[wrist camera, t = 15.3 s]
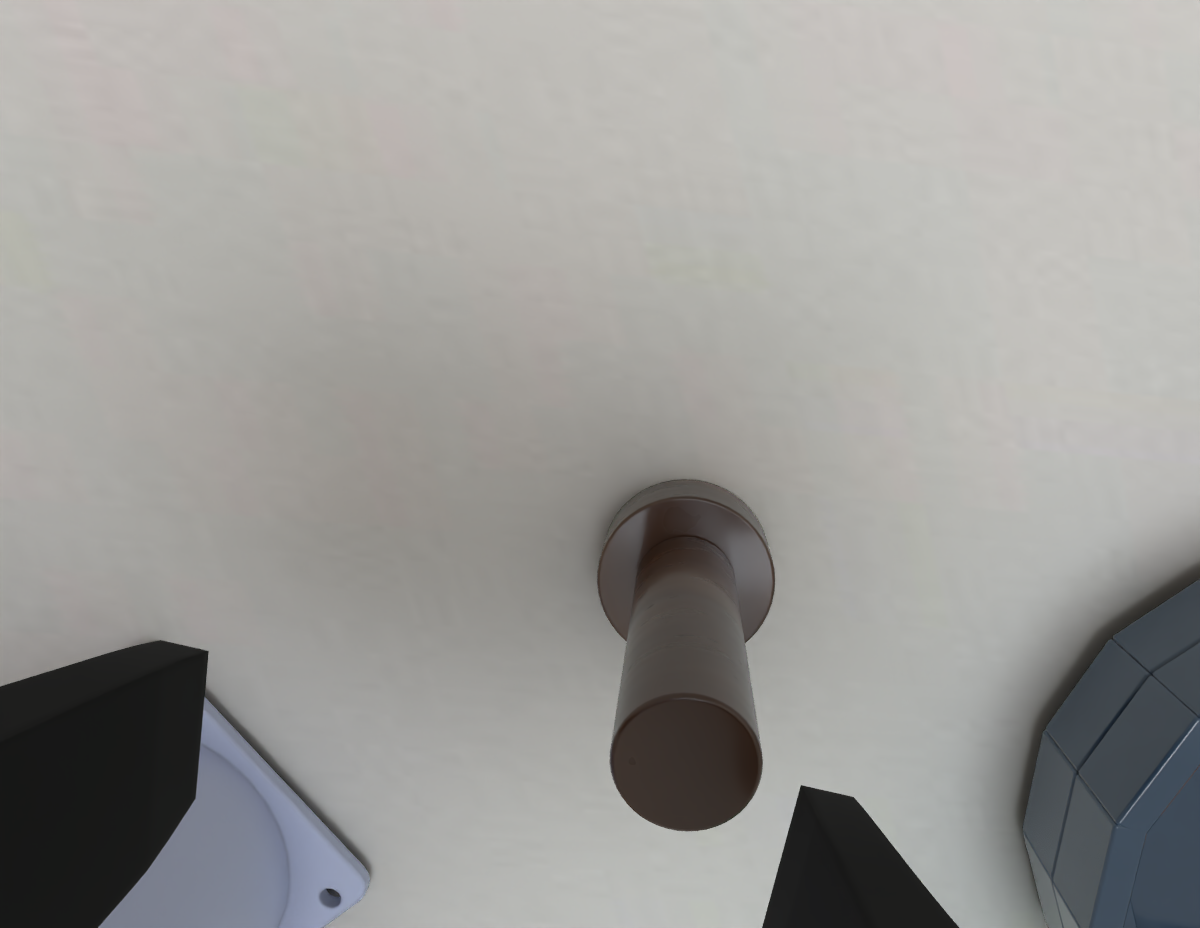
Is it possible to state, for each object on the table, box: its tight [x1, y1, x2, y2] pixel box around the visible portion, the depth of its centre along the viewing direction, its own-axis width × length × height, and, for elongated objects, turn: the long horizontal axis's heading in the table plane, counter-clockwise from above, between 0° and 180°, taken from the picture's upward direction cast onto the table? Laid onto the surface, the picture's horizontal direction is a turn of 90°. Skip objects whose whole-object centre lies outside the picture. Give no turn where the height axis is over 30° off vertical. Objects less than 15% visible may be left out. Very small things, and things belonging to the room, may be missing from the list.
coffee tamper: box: [597, 480, 775, 831], centre depth 16 cm, size 4×4×8 cm
